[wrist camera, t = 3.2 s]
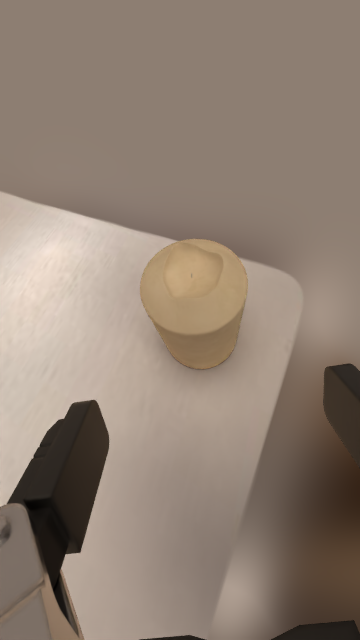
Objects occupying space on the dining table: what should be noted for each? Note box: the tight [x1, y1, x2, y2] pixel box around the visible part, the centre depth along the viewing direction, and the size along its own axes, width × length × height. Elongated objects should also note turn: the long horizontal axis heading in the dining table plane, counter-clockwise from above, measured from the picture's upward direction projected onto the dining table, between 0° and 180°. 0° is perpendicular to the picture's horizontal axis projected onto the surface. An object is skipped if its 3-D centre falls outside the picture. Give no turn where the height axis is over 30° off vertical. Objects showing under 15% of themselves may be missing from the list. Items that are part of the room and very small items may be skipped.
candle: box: [140, 239, 248, 369], centre depth 18 cm, size 6×6×10 cm
